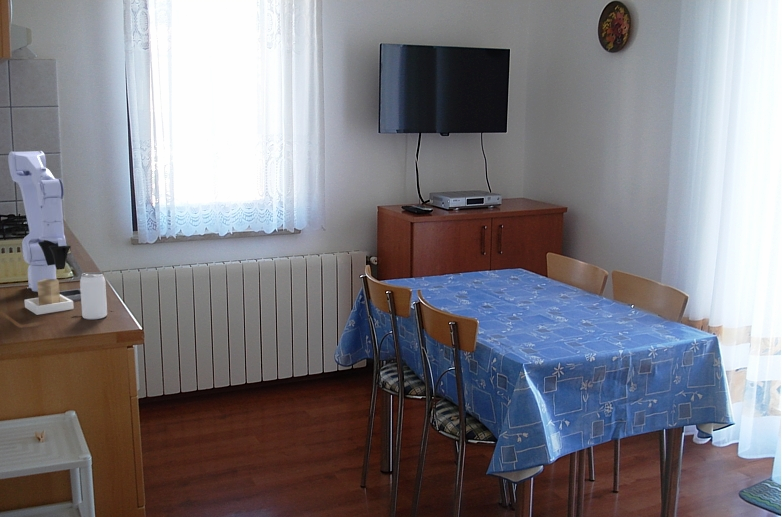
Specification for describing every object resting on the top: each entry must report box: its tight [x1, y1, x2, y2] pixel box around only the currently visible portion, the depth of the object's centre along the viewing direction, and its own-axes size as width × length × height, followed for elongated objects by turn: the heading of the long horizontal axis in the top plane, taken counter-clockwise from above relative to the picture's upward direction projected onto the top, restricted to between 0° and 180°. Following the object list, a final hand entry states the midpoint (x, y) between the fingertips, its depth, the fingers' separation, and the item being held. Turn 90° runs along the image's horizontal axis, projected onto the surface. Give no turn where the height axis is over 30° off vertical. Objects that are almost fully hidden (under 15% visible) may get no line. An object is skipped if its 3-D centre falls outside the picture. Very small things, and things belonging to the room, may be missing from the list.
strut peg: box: [37, 278, 60, 306], centre depth 225 cm, size 4×4×8 cm
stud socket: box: [59, 288, 81, 302], centre depth 237 cm, size 9×9×2 cm
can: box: [79, 271, 108, 321], centre depth 219 cm, size 6×6×12 cm
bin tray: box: [24, 294, 75, 315], centre depth 225 cm, size 10×10×3 cm
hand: (55, 267), depth 233 cm, fingers open, 7 cm apart
